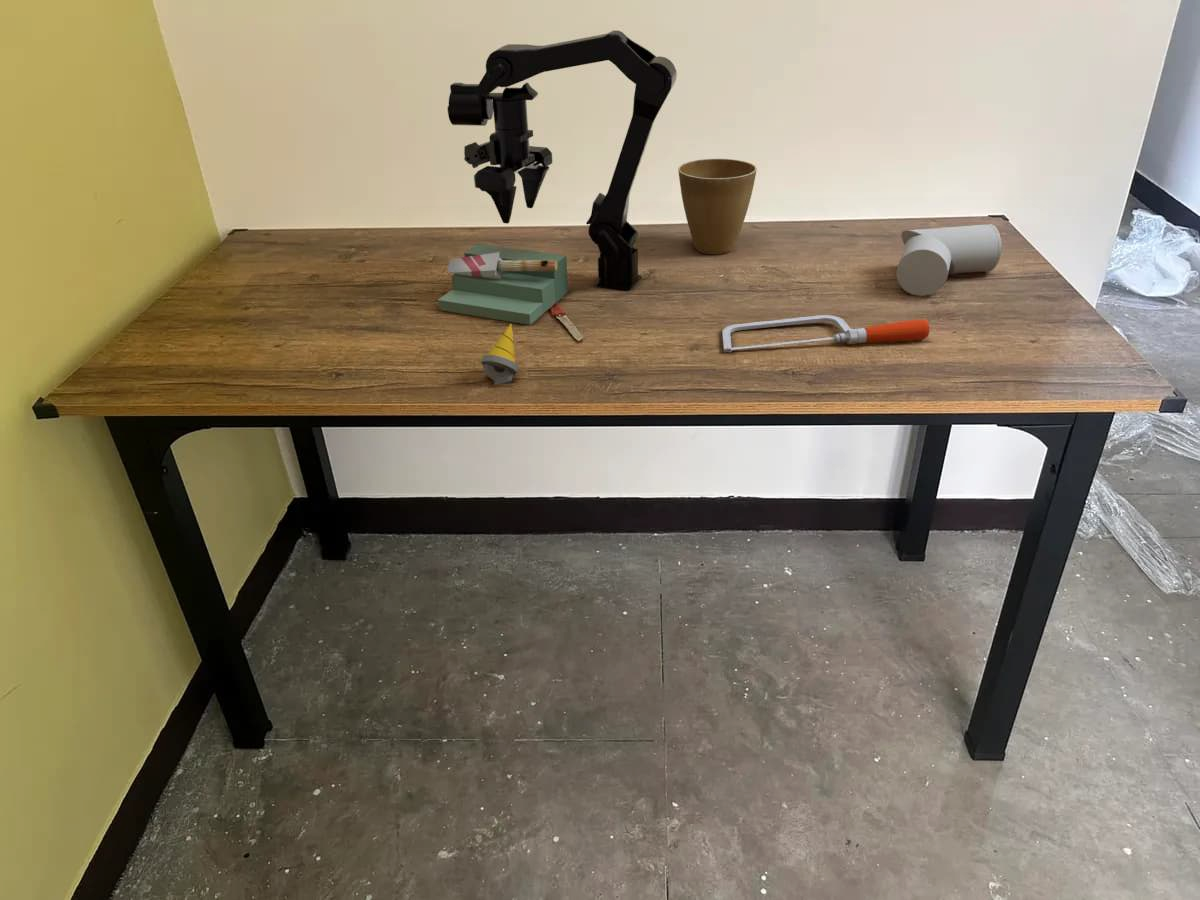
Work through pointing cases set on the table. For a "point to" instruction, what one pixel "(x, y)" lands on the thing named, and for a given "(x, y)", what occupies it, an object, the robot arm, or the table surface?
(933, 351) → the table surface
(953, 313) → the table surface
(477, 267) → the paintbrush
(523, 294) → the staircase
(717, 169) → the plant pot
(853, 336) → the hand saw
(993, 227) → the l-shaped cylinder
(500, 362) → the yellow cone with collar
